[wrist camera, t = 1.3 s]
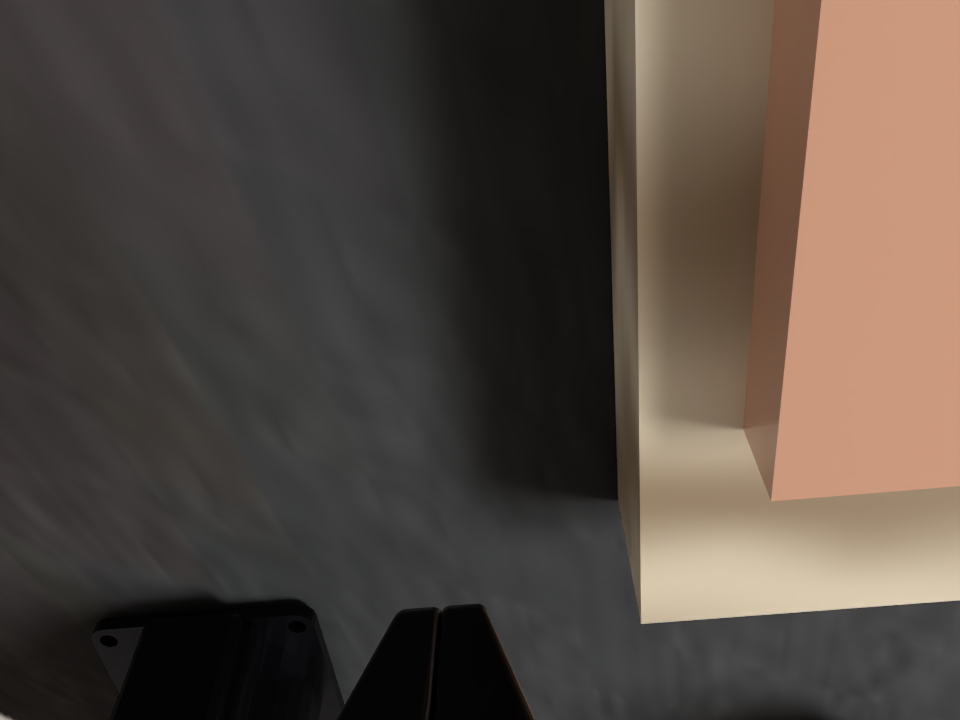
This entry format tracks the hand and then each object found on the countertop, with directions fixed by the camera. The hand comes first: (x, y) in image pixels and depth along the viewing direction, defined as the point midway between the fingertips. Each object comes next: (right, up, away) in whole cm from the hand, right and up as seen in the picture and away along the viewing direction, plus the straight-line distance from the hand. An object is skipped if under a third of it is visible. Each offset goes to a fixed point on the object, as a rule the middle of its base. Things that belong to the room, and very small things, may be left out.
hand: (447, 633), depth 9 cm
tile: (+8, +5, +6) cm, 11 cm away
